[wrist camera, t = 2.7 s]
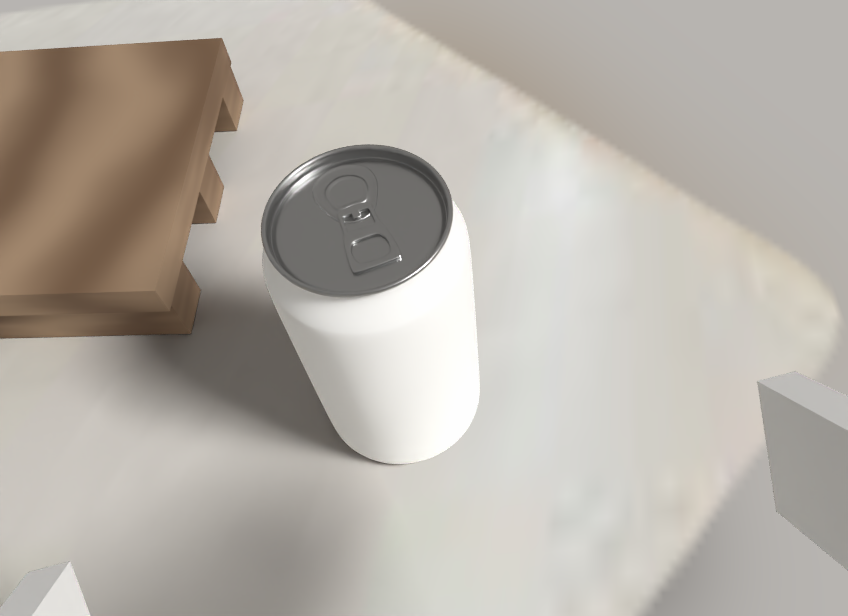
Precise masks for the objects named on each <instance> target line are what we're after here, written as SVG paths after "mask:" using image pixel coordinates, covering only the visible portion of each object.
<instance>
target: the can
mask: <svg viewBox="0 0 848 616" xmlns="http://www.w3.org/2000/svg"><path fill="white" fill-rule="evenodd" d="M261 237H262V243H263V247H264V248H263V258H262V266H263V274H264V279H265V282H266V286H267V289H268V292H269V294H270V296H271V299H272V301H273V303H274V306H275V308H276V310H277V312H278V314H279V316H280V318H281V321H282V323H283V325H284V327H285V329H286V331H287V333H288V335H289V337H290V339H291V341H292V343H293V346H294V348H295V350H296V352H297V354H298V356H299V358H300V360H301V362H302V364H303V366H304V368H305V370H306V372H307V374H308V376H309V378H310V380H311V382H312V385H313V387H314V389H315V391H316V393H317V395H318V397H319V399H320V401H321V403H322V405H323V407H324V409H325V411H326V413H327V415H328V417H329V419H330V421H331V423H332V424H333V426H334V428H335V430H336V431H337V433H338V434H339V435H340V437H341V438H342V439H343V440H344V442H345V443H346V444H347V445H349V446H350V447H351V448H352V449H353V450H355V451H356V452H358V453H359V454H361V455H363V456H365V457H367V458H369V459H372V460H375V461H379V462H383V463H389V464H409V463H415V462H420V461H423V460H426V459H429V458H432V457H434V456H436V455H438V454H440V453H442V452H443V451H445V450H446V449H448V448H449V447H451V446H452V445H453V444H454V443H455V442H456V441H458V440H459V439H460V437H461V436H462V435H463V434H464V433H465V431H466V430H467V429H468V427H469V425H470V424H471V422H472V420H473V418H474V415H475V413H476V410H477V406H478V402H479V393H480V381H479V362H478V346H477V330H476V316H475V301H474V288H473V274H472V262H471V251H470V242H469V236H468V231H467V227H466V224H465V221H464V218H463V216H462V214H461V212H460V210H459V209H458V207H457V205H456V204H455V203H454V201H453V200H452V198H451V194H450V191H449V189H448V187H447V185H446V183H445V181H444V180H443V178H442V177H441V175H440V174H439V173H438V172H437V171H436V170H435V169H434V168H433V167H432V166H431V165H430V164H429V163H427V162H426V161H425V160H423V159H422V158H420V157H418V156H416V155H414V154H412V153H410V152H407V151H405V150H402V149H398V148H395V147H390V146H384V145H354V146H347V147H342V148H338V149H334V150H331V151H328V152H325V153H323V154H320V155H318V156H316V157H314V158H312V159H310V160H308V161H306V162H305V163H303V164H301V165H300V166H298V167H297V168H296V169H294V170H293V171H292V172H291V173H290V174H288V175H287V176H286V177H285V178H284V179H283V180H282V181H281V183H280V184H279V185H278V186H277V187H276V189H275V190H274V192H273V193H272V195H271V196H270V198H269V200H268V202H267V204H266V207H265V210H264V213H263V217H262V223H261Z"/></svg>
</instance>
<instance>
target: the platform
mask: <svg viewBox="0 0 848 616" xmlns="http://www.w3.org/2000/svg"><path fill="white" fill-rule="evenodd" d="M230 66H231V60H230V58H229V55H228V53H227V50H226V47H225V45H224V42H223V40H222V38H214V39H198V40H182V41H166V42H150V43H134V44H118V45H102V46H86V47H70V48H54V49H38V50H22V51H6V52H0V338H31V337H72V336H113V335H154V334H191V332H192V327H193V323H194V318H195V314H196V309H197V305H198V300H199V296H200V292H201V290H200V288H199V286H198V285H197V283H196V282H195V280H194V278H193V277H192V275H191V274H190V272H189V270H188V269H187V267H186V265H185V264H184V262H183V261H182V260H183V256H184V252H185V248H186V244H187V240H188V236H189V232H190V228H191V224H196V223H216V220H217V216H218V212H219V207H220V203H221V198H222V194H223V189H224V186H223V183H222V181H221V179H220V177H219V175H218V173H217V171H216V169H215V167H214V164H213V162H212V160H211V158H210V156H209V151H210V147H211V143H212V139H213V135H214V132H218V131H237V127H238V123H239V118H240V114H241V109H242V105H243V98H242V95H241V92H240V90H239V87H238V85H237V82H236V79H235V77H234V74H233V72H232V69H231V67H230Z"/></svg>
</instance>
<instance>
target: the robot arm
mask: <svg viewBox="0 0 848 616" xmlns="http://www.w3.org/2000/svg"><path fill="white" fill-rule="evenodd" d="M757 383H758V390H759V397H760V404H761V411H762V418H763V425H764V431H765V438H766V445H767V452H768V459H769V466H770V473H771V480H772V486H773V493H774V500H775V506H776V512H778V513H779V514H780V515H781V516H782V517H784V518H785V519H786V520H787V521H788V522H790V523H791V524H792V525H794V527H796V528H797V529H798V530H799V531H801V532H802V533H803V534H804V535H805V536H807V537H808V538H809V539H810V540H811V541H813V542H814V543H815V544H817V546H819V547H820V548H821V549H822V550H823V551H825V552H826V553H827V554H828V555H830V556H831V557H832V558H833V559H834V560H836V561H837V562H838V563H839V564H841V565H842V566H843V567H844V568H845V569H847V570H848V396H847V395H844V394H842V393H840V392H838V391H836V390H834V389H832V388H830V387H828V386H825V385H823V384H821V383H819V382H817V381H815V380H813V379H811V378H809V377H807V376H804V375H802V374H800V373H798V372H796V371H794V372H791V373H787V374H783V375H779V376H775V377H772V378H768V379H764V380H760V381H757ZM0 616H90V613H89V610H88V608H87V605H86V602H85V600H84V597H83V594H82V592H81V589H80V586H79V584H78V581H77V578H76V576H75V573H74V570H73V568H72V565H71V562H70V561H69V562H65V563H61V564H57V565H53V566H50V567H46V568H42V569H38V570H34V571H30V572H28V573H27V574H26V575H25V577H24V578H23V579H22V581H21V582H20V583H19V584H18V586H17V587H16V588H15V589H14V591H13V592H12V593H11V595H10V596H9V597H8V598H7V600H6V601H5V602H4V604H3V605H2V606H1V607H0Z"/></svg>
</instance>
